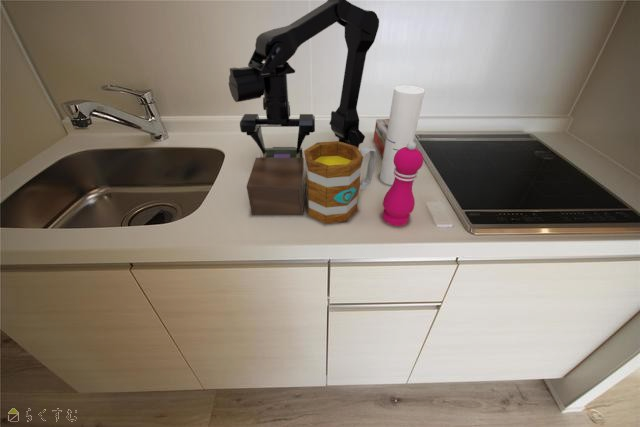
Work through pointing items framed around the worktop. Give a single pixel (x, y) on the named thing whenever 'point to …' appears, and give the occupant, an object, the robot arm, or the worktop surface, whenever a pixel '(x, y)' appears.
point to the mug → (335, 180)
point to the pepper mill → (402, 185)
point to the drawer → (282, 152)
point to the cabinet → (276, 186)
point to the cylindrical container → (400, 126)
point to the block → (282, 156)
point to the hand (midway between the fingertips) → (281, 153)
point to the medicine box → (381, 134)
